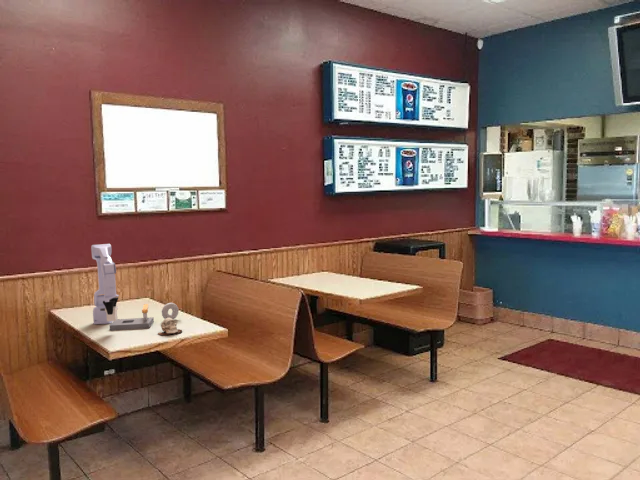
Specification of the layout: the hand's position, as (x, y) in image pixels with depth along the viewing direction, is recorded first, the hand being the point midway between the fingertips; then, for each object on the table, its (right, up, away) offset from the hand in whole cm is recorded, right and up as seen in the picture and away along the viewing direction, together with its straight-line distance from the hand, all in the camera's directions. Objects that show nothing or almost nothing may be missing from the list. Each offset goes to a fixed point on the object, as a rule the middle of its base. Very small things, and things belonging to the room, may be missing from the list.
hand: (111, 313), depth 281 cm
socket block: (+6, -9, +15) cm, 18 cm away
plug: (-1, -4, 0) cm, 4 cm away
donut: (+24, -8, +25) cm, 35 cm away
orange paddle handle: (+11, -1, +21) cm, 24 cm away
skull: (+30, -10, -2) cm, 32 cm away
